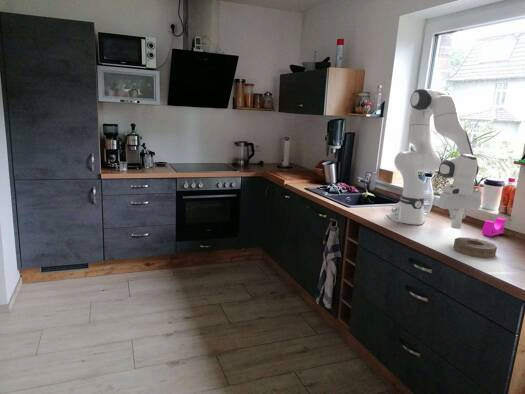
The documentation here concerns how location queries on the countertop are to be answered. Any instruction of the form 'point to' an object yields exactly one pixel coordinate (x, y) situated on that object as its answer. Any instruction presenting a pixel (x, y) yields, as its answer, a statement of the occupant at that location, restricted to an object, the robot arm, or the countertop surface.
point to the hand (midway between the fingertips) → (457, 218)
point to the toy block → (493, 227)
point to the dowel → (457, 218)
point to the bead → (475, 247)
